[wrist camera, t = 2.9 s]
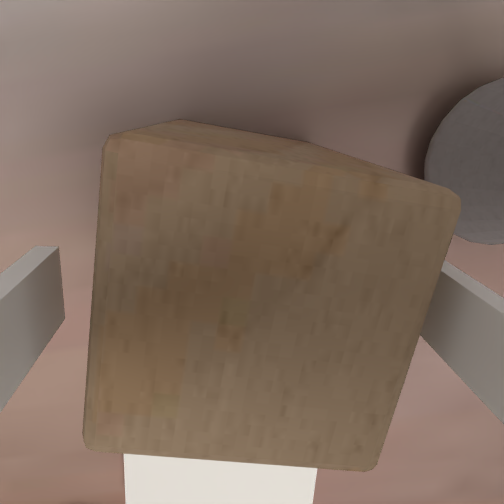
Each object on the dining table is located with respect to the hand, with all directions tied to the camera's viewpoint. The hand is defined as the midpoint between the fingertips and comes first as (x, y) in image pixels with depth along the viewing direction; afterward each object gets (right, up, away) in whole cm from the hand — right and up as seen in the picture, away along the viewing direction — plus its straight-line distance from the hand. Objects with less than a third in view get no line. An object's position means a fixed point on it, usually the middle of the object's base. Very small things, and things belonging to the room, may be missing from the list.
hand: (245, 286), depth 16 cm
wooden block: (-1, +5, +16) cm, 17 cm away
